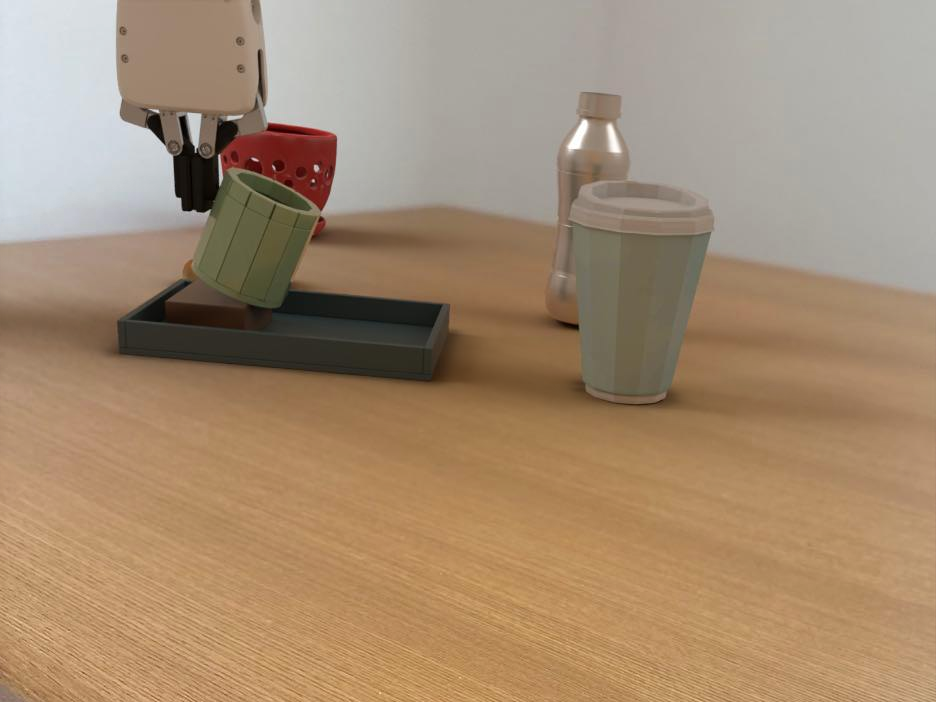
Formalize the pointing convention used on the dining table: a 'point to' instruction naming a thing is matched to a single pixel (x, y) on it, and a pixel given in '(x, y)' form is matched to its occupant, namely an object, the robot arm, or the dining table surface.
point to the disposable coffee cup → (636, 283)
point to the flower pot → (288, 160)
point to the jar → (254, 238)
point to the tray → (303, 335)
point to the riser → (214, 309)
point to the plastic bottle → (579, 163)
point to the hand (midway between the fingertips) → (198, 209)
